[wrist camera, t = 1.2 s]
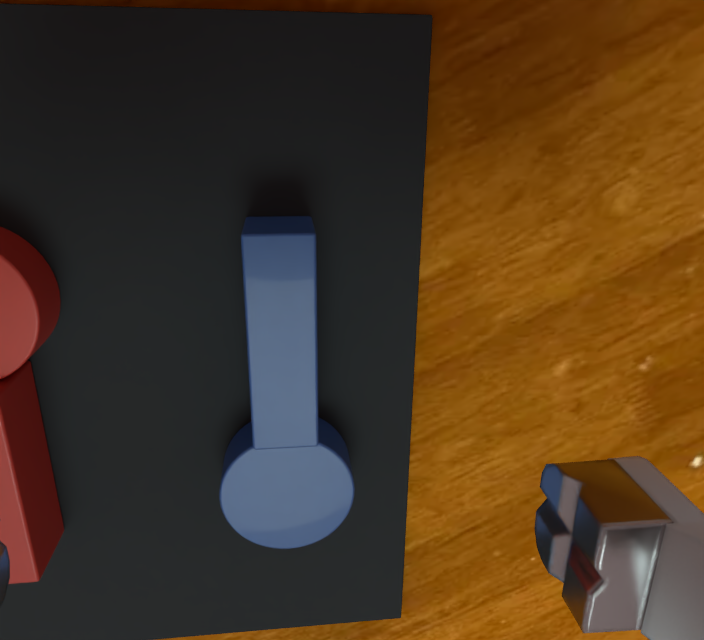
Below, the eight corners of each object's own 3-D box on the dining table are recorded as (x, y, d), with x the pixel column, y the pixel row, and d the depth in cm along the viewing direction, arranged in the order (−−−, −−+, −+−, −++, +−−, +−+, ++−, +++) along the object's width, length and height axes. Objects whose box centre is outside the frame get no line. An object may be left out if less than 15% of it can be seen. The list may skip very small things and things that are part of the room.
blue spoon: (204, 216, 16) (192, 234, 14) (351, 215, 16) (361, 232, 14) (227, 519, 19) (222, 569, 17) (348, 511, 20) (356, 559, 18)
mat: (-214, -1, 13) (-228, -3, 13) (429, 16, 15) (433, 14, 15) (-25, 646, 21) (-30, 655, 20) (399, 609, 22) (401, 618, 22)
